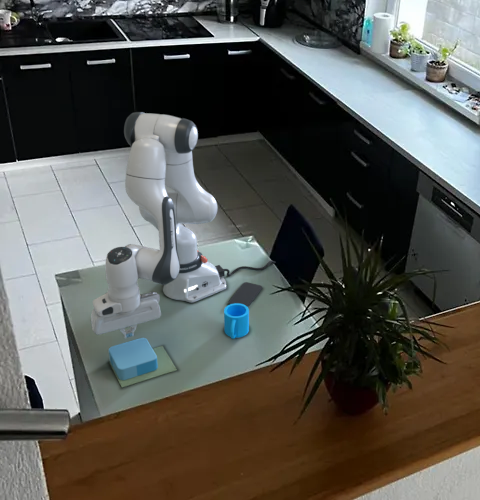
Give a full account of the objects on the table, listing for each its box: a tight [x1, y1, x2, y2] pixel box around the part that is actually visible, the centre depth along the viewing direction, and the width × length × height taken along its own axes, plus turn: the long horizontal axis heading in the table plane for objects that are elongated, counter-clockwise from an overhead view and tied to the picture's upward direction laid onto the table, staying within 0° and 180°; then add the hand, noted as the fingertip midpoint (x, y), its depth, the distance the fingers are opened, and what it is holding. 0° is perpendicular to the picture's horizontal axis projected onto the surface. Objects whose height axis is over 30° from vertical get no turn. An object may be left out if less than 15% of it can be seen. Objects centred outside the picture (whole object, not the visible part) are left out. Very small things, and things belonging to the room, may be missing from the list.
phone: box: [227, 281, 263, 308], centre depth 250 cm, size 7×1×15 cm
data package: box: [108, 337, 158, 380], centre depth 214 cm, size 12×4×12 cm
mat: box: [108, 345, 178, 389], centre depth 215 cm, size 17×13×1 cm
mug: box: [223, 303, 250, 340], centre depth 230 cm, size 12×8×8 cm
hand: (128, 336), depth 213 cm, fingers closed
